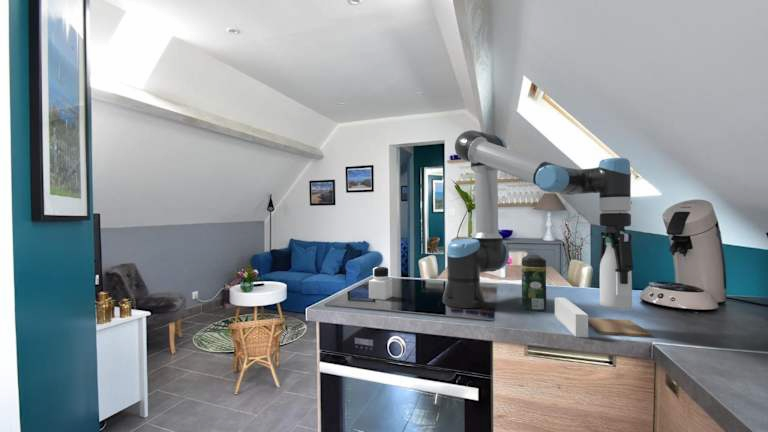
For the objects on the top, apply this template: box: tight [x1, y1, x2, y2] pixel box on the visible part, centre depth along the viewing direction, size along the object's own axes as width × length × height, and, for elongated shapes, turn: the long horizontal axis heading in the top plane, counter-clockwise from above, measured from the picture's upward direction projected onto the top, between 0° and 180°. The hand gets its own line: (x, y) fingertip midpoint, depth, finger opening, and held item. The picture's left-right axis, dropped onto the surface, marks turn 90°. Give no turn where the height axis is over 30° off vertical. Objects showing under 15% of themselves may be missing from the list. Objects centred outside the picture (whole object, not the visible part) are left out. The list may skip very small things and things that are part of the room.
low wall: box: [554, 296, 589, 338], centre depth 103 cm, size 3×20×6 cm, turn 168°
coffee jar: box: [521, 254, 547, 312], centre depth 122 cm, size 10×8×19 cm
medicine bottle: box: [368, 266, 393, 301], centre depth 138 cm, size 7×7×12 cm
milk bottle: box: [599, 237, 633, 310], centre depth 100 cm, size 8×8×20 cm
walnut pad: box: [588, 317, 655, 338], centre depth 100 cm, size 13×13×1 cm
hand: (615, 292), depth 100 cm, fingers closed on milk bottle, 8 cm apart
